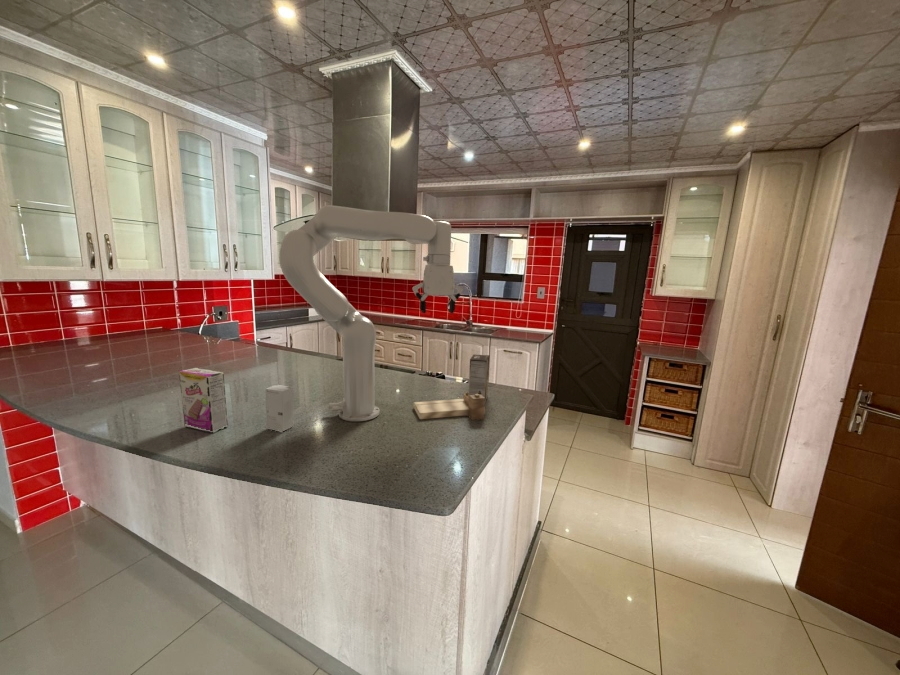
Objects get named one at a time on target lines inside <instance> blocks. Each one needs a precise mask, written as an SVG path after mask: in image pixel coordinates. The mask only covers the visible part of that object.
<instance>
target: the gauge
mask: <svg viewBox="0 0 900 675" xmlns="http://www.w3.org/2000/svg"><path fill="white" fill-rule="evenodd" d="M462 396H463V398H462V399H463V400H464V401H465V402H466V403H467V404H468V405H469V413H468V415H467V416H468V417H469V418H470V419H471V421H475V419H477V420H484V419H485V414H484V407H485V404H486V402H485V398H484V397H483V396H482V395H481V394H475V395H469V391H468V392H467V391H465V393H463V395H462Z"/></svg>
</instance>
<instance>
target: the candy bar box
mask: <svg viewBox="0 0 900 675" xmlns="http://www.w3.org/2000/svg"><path fill="white" fill-rule="evenodd" d="M178 375H179V385H180V391H181V392H180V394H181V401H182V402H181V404H182V412H183V413H182V414H183V422H184V424H183V425H185V424H187V425H191V426H194V427H198V428H201V429H206V430H210V431H213V430H216V429H219V428H221V427H223V426H226V425H228V426H229V423H228V413H227V402H226V401H227V400H226V399H227V398H226V389H225V388H226V386H225V376H224V375H225V373H224V372H223V371H218V370H211V369H205V368H201V367H200V368H199V367H193V368H192V367H191V368H188V369H183V370H181V371H178Z"/></svg>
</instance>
